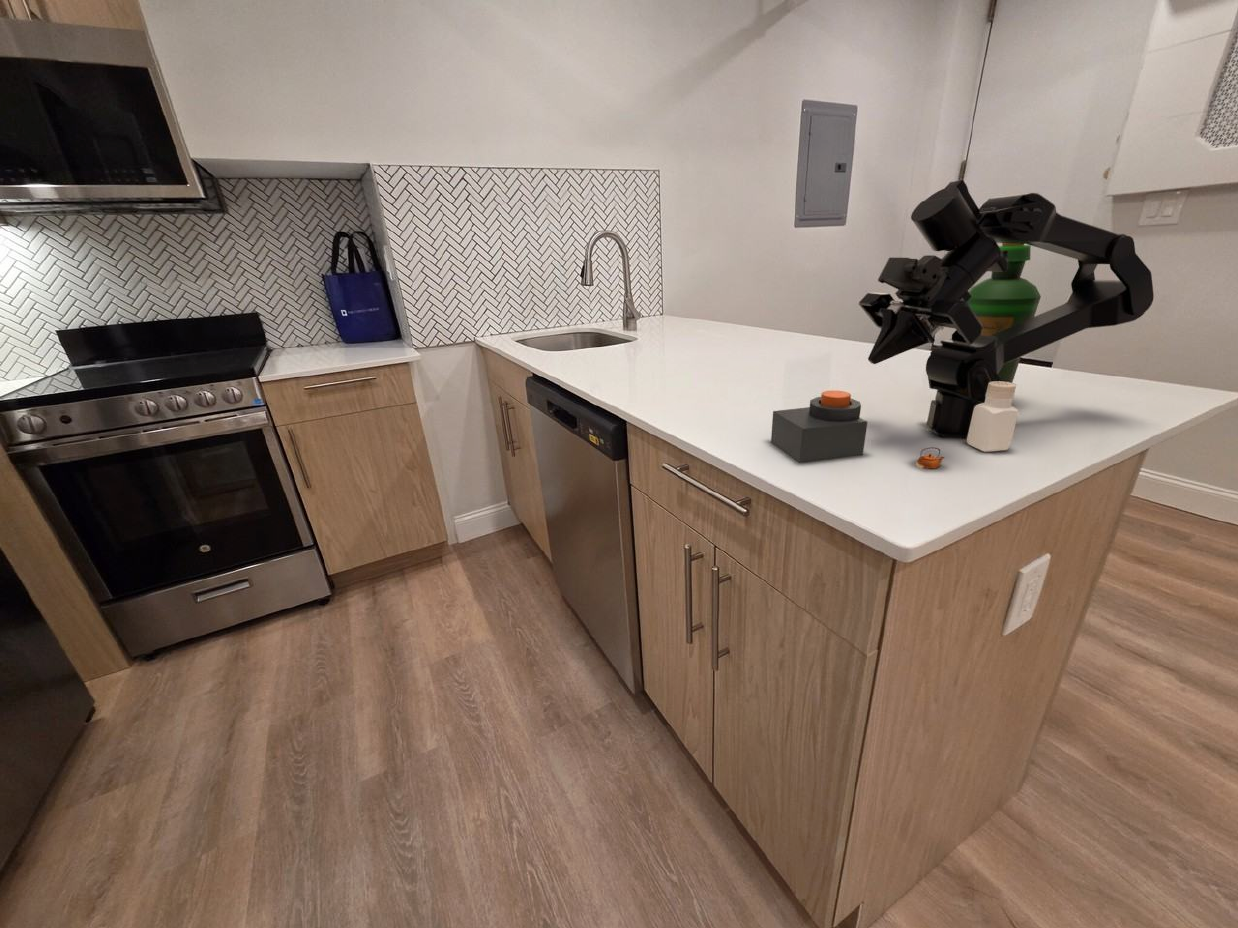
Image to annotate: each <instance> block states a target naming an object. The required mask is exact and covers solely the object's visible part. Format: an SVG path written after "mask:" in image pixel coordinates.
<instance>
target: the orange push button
mask: <svg viewBox="0 0 1238 928" xmlns="http://www.w3.org/2000/svg"><path fill="white" fill-rule="evenodd" d="M820 395H821V396H820V397H821V403H820V404H821V405H824V406H829V407H847V406H850V399H852V394H851V393H850V392H849V391H844V390H839V389H838V390H837V389H836V390H835V389H833V390H832V389H831V390H824V391H822V392H821V394H820Z"/></svg>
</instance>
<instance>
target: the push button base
mask: <svg viewBox="0 0 1238 928" xmlns="http://www.w3.org/2000/svg"><path fill="white" fill-rule="evenodd" d="M820 403H821V396H817V397H814V398H812V399H810V400H809V406H808V407H807V406H806V407H797V408H788V409H782V410H781V409H780V410H773V411H772V420H771V422H772V423H771V434H770V443H771V444H773V445H774V446H775V447H777V448H778V449H780V450H781V451H782V452H784V453H785V454H787V456H789V457H790V458H792V459H793V460H795V461H796V462H797V463H799V464H804V463H810V462H820V461H826V460H827V461H828V460H834V459H842V458H849V457H850V458H851V457H858V456H864V449H865V443H866V436H867V427H868V420H865V419H863V418H861V417H860V416H861V409H862V403H861V402H860V401H859V400H857V399H854V398H851V399H850V406H847V407H829V406H824V405H821V404H820Z"/></svg>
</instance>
